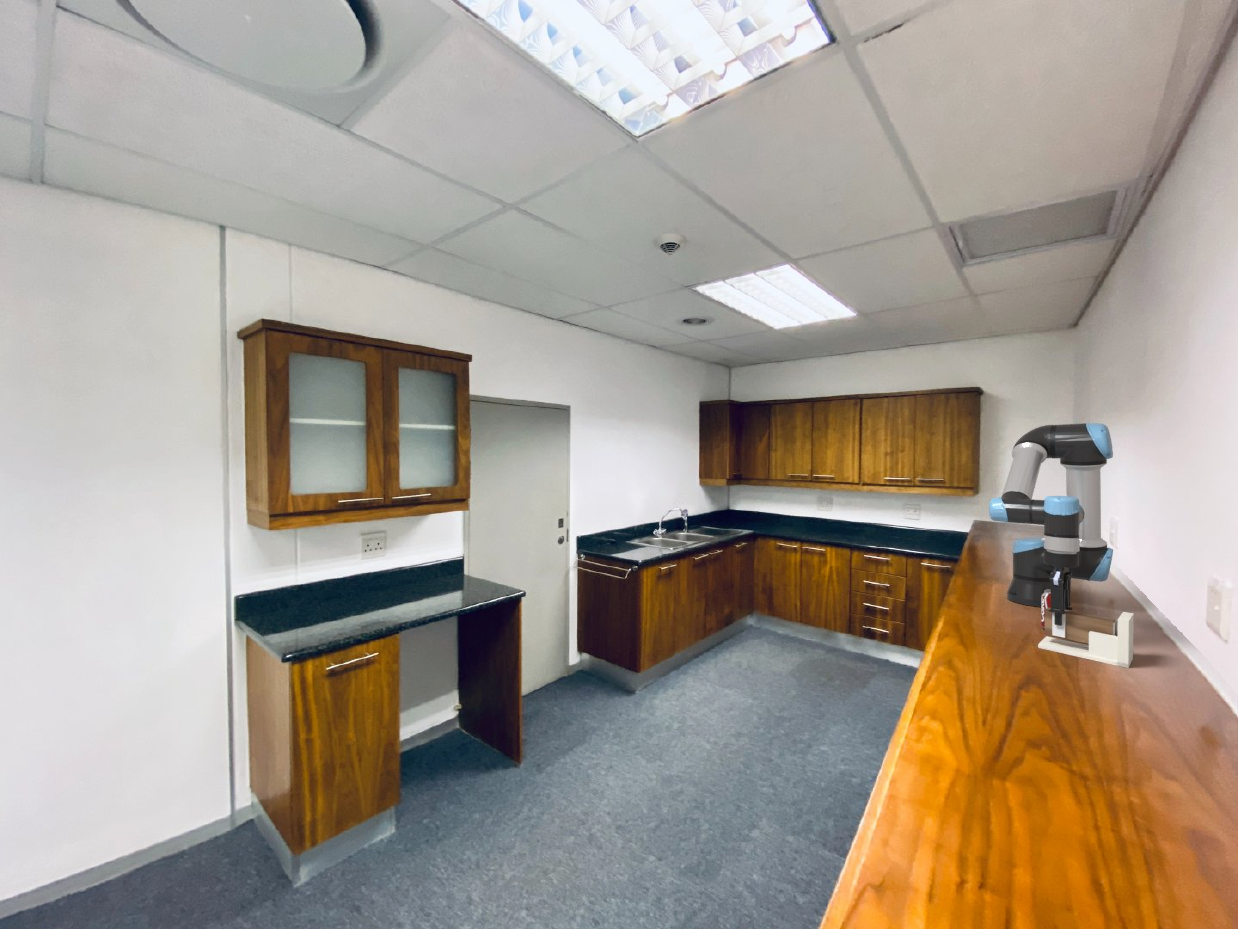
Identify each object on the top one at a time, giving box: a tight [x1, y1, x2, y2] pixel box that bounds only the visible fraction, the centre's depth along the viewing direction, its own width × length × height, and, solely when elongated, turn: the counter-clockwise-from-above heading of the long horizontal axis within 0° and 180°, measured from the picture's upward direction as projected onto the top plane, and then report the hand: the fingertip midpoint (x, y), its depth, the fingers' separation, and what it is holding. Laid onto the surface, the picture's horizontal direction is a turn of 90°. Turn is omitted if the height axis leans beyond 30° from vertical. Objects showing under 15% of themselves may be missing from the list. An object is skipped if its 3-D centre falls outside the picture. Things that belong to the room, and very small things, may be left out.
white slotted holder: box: [1037, 611, 1135, 669], centre depth 139 cm, size 10×18×12 cm, turn 39°
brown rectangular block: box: [1044, 608, 1118, 645], centre depth 139 cm, size 4×14×7 cm, turn 39°
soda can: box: [1040, 589, 1071, 630], centre depth 156 cm, size 7×7×12 cm
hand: (1060, 634), depth 143 cm, fingers closed on brown rectangular block, 3 cm apart
